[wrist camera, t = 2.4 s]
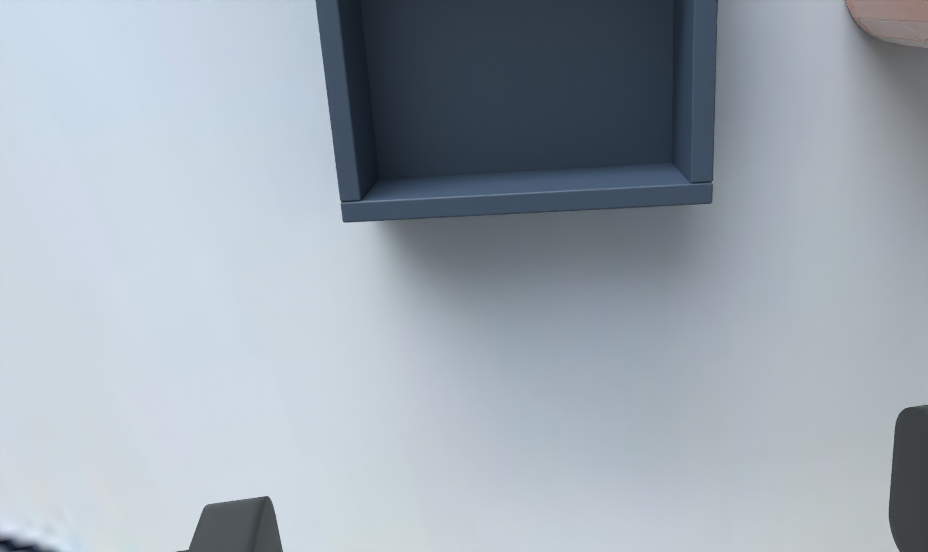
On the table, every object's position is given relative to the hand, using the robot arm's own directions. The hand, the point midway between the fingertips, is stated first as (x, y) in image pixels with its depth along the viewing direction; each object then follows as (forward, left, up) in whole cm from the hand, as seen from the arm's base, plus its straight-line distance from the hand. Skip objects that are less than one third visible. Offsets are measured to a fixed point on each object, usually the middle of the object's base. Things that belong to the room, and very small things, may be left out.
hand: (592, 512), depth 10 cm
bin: (-5, -1, -25) cm, 25 cm away
